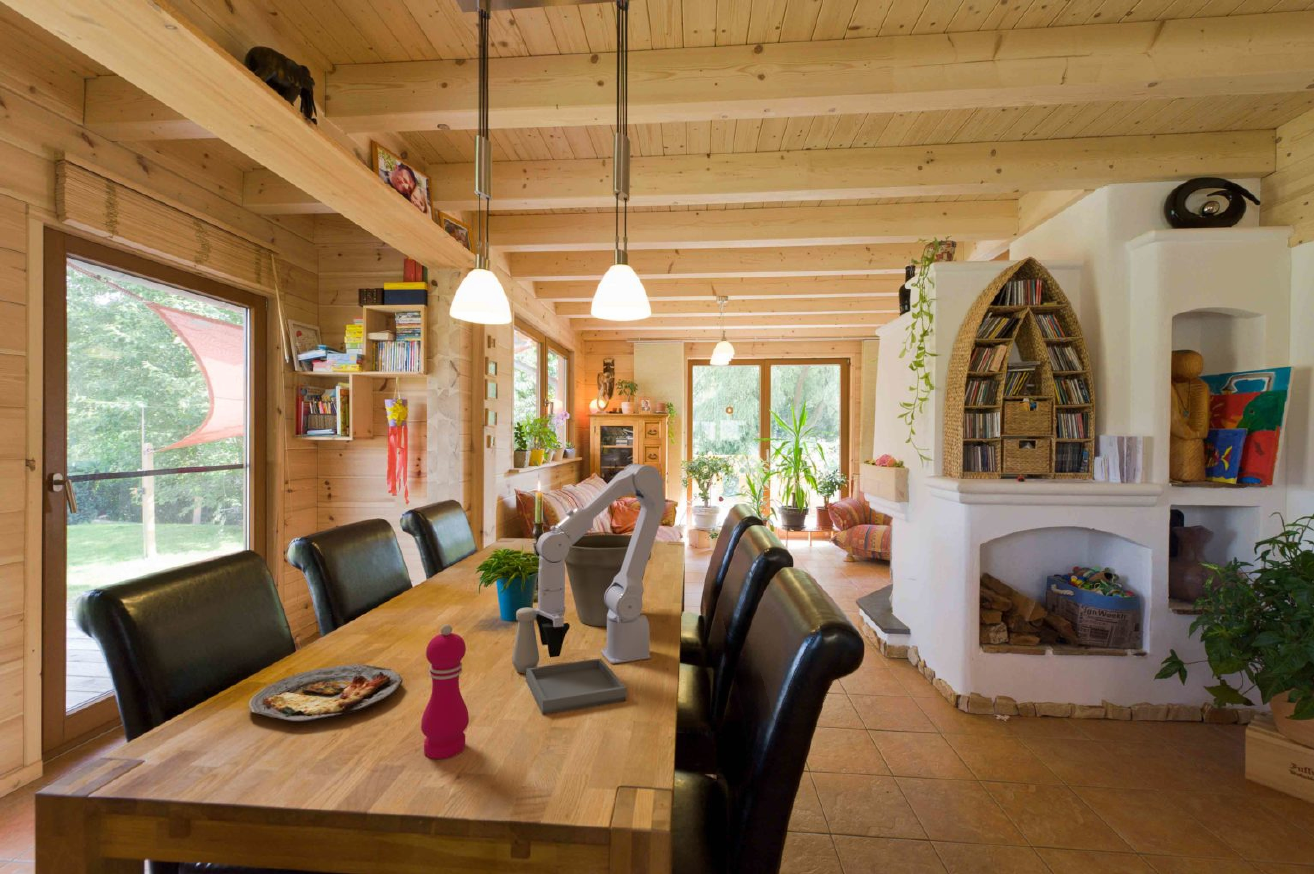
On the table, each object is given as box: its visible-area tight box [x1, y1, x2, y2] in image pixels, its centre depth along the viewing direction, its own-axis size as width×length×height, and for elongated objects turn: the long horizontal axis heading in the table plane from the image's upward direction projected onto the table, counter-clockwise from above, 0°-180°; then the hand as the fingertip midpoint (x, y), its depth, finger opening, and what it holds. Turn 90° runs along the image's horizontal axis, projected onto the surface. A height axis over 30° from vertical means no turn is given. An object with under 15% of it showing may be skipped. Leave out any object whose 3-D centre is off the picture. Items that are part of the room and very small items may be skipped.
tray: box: [525, 657, 627, 716], centre depth 119 cm, size 16×16×2 cm
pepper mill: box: [420, 623, 470, 760], centre depth 97 cm, size 7×7×20 cm
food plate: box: [248, 663, 403, 722], centre depth 114 cm, size 25×23×4 cm
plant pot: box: [565, 533, 652, 627], centre depth 166 cm, size 25×25×22 cm
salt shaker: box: [511, 607, 540, 674], centre depth 129 cm, size 6×6×13 cm
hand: (550, 650), depth 131 cm, fingers open, 7 cm apart
